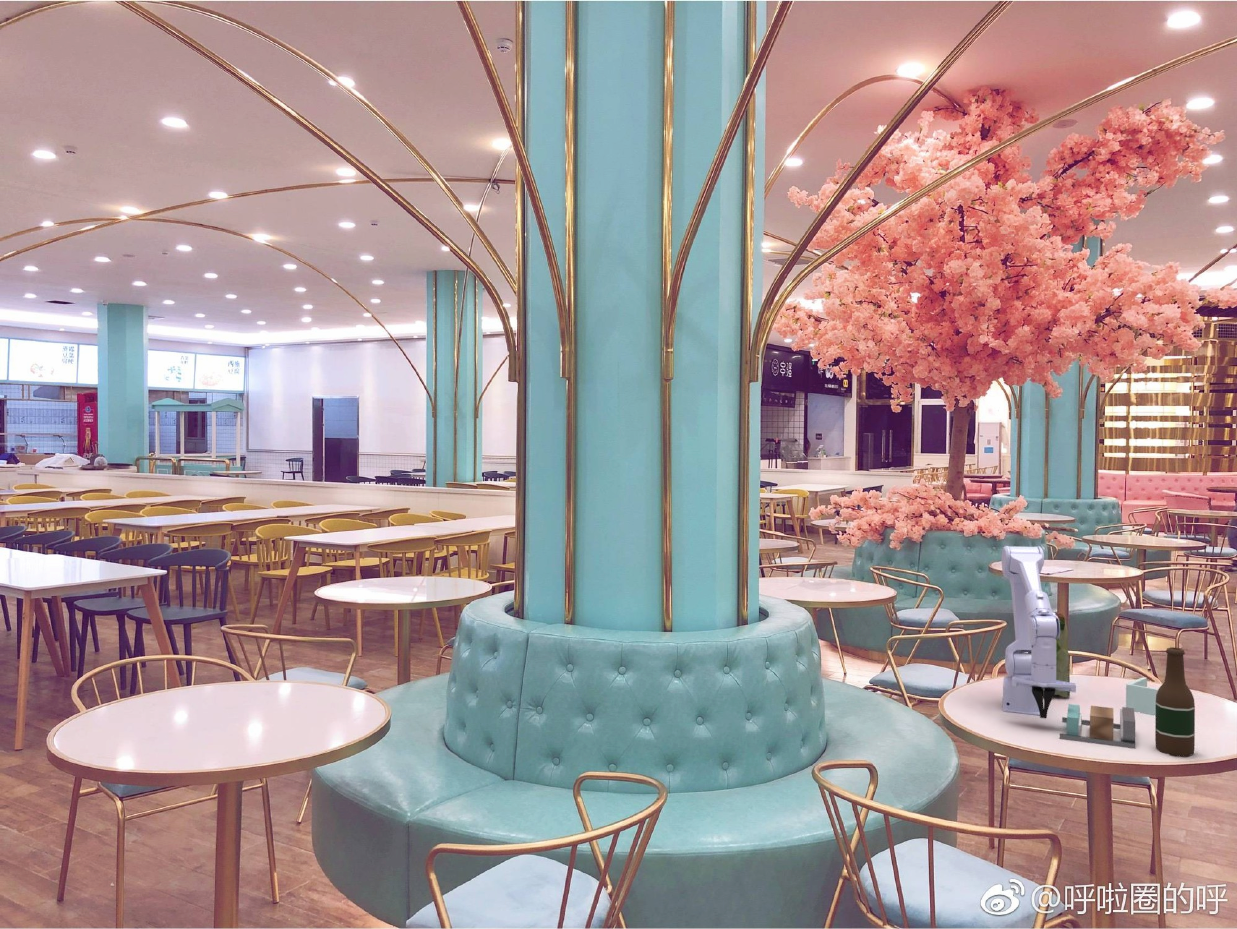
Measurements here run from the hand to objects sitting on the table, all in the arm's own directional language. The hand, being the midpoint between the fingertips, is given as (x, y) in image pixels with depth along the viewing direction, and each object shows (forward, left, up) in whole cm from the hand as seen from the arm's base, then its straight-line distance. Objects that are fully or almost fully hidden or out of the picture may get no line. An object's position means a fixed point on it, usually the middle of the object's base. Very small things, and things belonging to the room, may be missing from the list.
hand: (1043, 717), depth 232 cm
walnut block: (+13, 0, -3) cm, 13 cm away
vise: (+11, 0, -3) cm, 11 cm away
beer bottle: (+28, -6, -3) cm, 29 cm away
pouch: (-1, +35, -3) cm, 35 cm away
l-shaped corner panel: (+26, +32, -4) cm, 42 cm away
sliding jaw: (+7, 0, -3) cm, 7 cm away
